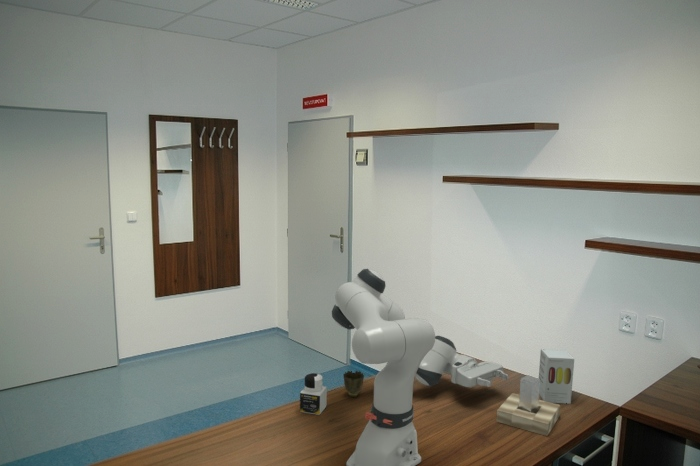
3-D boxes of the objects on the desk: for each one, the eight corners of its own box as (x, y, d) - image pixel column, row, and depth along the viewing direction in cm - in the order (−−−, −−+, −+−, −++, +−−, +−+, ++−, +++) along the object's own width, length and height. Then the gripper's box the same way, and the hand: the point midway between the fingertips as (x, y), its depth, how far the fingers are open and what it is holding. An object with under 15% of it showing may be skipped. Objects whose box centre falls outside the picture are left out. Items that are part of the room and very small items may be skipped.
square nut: (547, 436, 163) (548, 424, 162) (496, 421, 172) (497, 410, 171) (559, 416, 176) (560, 405, 175) (511, 403, 185) (512, 392, 184)
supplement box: (544, 402, 186) (547, 357, 184) (536, 391, 195) (539, 348, 193) (571, 404, 185) (575, 358, 183) (563, 392, 194) (566, 349, 192)
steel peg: (530, 423, 171) (532, 382, 169) (518, 418, 174) (520, 378, 172) (537, 419, 173) (540, 379, 172) (525, 414, 177) (528, 375, 175)
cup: (364, 391, 193) (364, 370, 192) (362, 400, 186) (363, 378, 185) (344, 390, 194) (344, 369, 193) (342, 399, 186) (342, 377, 185)
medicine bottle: (299, 412, 176) (299, 378, 175) (307, 403, 183) (307, 370, 181) (319, 415, 174) (319, 380, 173) (326, 406, 181) (327, 372, 179)
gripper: (483, 370, 199) (515, 382, 189) (448, 383, 186) (480, 396, 176) (484, 354, 199) (516, 365, 188) (449, 366, 185) (481, 378, 175)
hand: (499, 380), depth 182 cm, fingers open, 8 cm apart
